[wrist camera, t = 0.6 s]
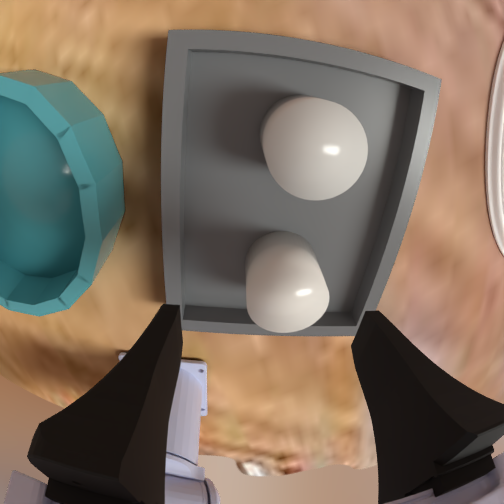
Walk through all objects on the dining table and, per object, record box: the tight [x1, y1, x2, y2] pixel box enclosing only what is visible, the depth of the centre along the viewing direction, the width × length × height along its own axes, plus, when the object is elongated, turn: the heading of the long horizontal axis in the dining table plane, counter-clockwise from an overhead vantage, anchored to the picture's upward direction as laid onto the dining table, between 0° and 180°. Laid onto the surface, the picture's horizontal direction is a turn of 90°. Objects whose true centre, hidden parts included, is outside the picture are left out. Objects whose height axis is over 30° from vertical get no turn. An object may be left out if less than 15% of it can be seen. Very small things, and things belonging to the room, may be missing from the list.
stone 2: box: [245, 231, 329, 333], centre depth 18 cm, size 4×4×4 cm
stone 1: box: [259, 95, 368, 200], centre depth 14 cm, size 4×4×4 cm
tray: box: [161, 30, 442, 336], centre depth 18 cm, size 18×14×2 cm
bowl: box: [0, 70, 125, 316], centre depth 15 cm, size 16×16×4 cm
